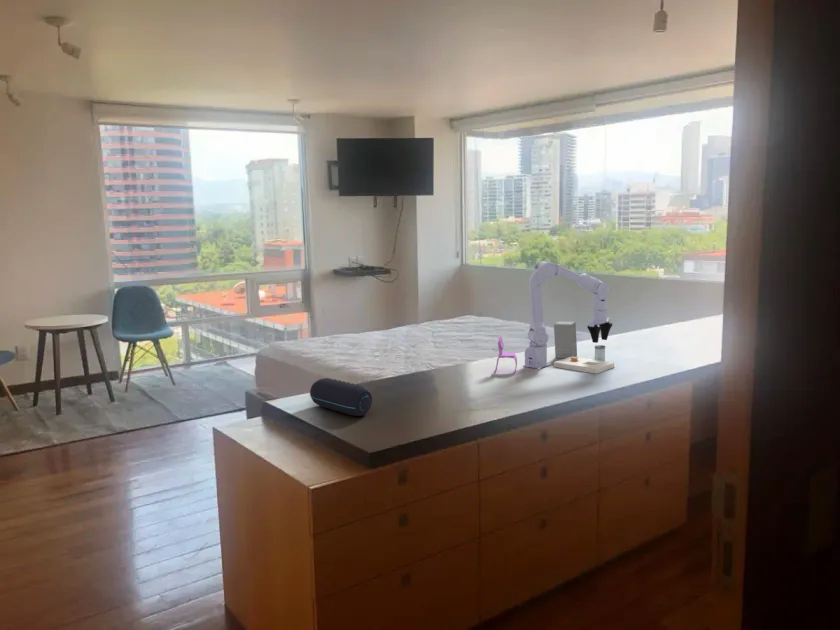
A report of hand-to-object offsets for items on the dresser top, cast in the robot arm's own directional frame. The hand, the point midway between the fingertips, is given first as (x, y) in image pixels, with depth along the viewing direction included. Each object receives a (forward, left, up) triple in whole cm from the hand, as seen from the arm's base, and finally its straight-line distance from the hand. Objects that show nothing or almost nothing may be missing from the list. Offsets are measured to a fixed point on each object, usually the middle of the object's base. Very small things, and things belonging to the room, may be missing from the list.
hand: (599, 341), depth 278 cm
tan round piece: (-12, +5, -9) cm, 16 cm away
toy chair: (-38, +21, -9) cm, 44 cm away
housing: (-12, 0, -9) cm, 15 cm away
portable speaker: (-116, +30, -10) cm, 120 cm away
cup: (0, 0, -9) cm, 9 cm away
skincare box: (0, +17, -9) cm, 19 cm away
